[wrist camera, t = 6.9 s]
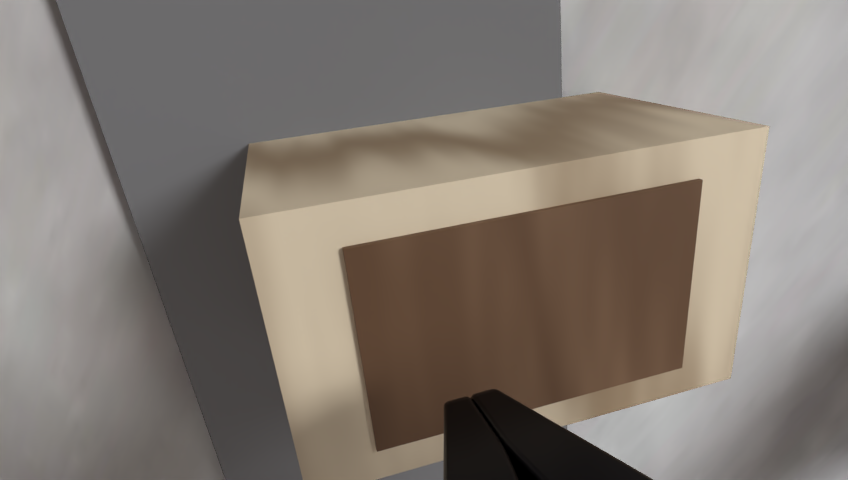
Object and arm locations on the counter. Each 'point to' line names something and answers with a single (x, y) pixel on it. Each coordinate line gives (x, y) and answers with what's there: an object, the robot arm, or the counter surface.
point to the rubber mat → (270, 120)
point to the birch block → (496, 267)
